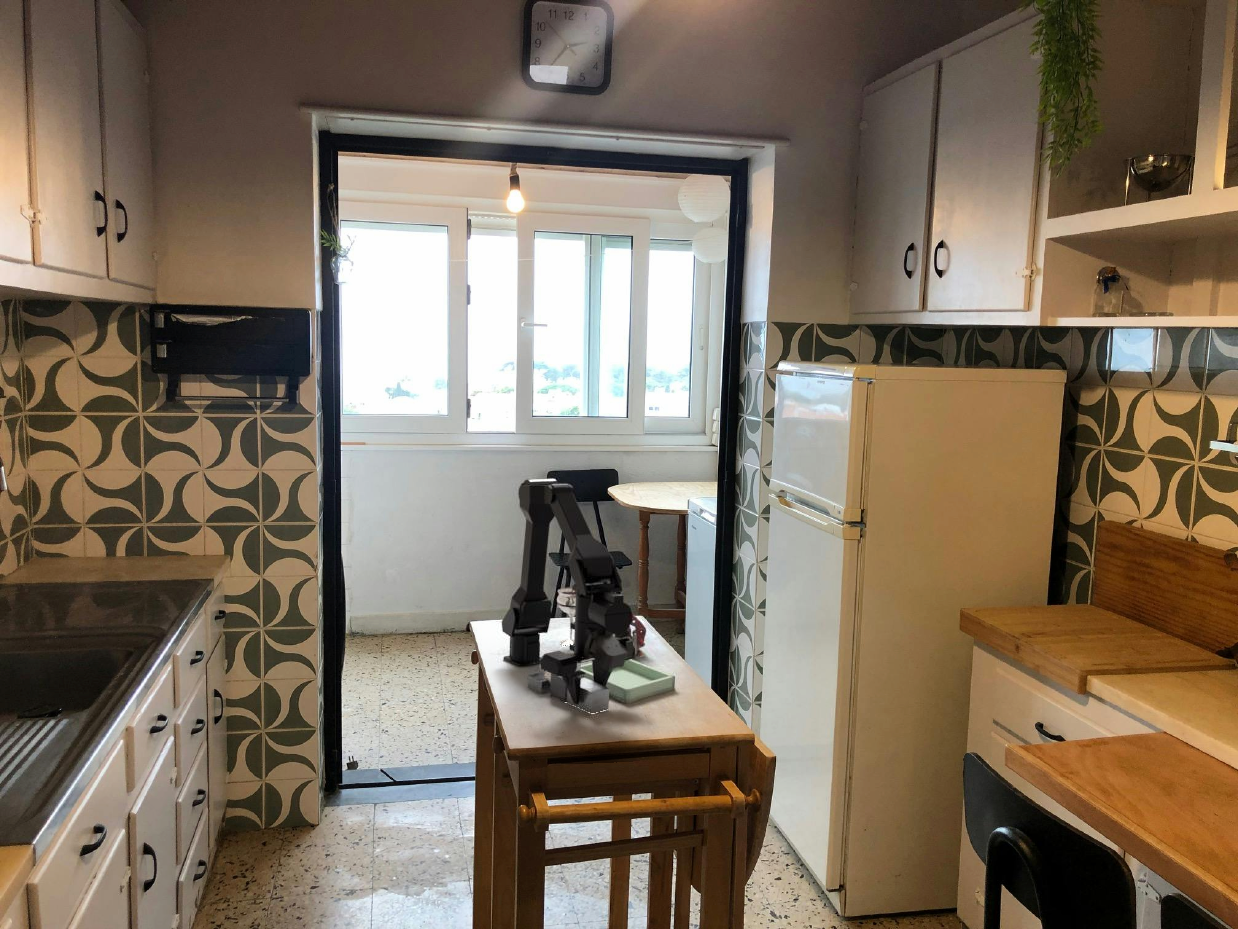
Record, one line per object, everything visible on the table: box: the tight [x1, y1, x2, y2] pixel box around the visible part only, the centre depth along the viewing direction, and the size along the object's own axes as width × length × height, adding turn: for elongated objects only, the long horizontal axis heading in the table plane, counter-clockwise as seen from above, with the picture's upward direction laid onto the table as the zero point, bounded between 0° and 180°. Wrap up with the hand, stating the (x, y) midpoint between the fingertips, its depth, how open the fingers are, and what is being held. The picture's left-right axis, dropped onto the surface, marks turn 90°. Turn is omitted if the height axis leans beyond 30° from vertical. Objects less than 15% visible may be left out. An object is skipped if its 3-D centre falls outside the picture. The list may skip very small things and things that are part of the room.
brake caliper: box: [611, 614, 647, 658], centre depth 210 cm, size 11×11×12 cm
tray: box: [581, 659, 676, 704], centre depth 189 cm, size 16×13×3 cm
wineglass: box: [556, 587, 576, 647], centre depth 214 cm, size 7×7×12 cm
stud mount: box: [527, 670, 551, 695], centre depth 185 cm, size 5×6×4 cm
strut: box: [549, 673, 610, 713], centre depth 178 cm, size 12×4×4 cm, turn 42°
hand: (587, 700), depth 177 cm, fingers open, 5 cm apart
